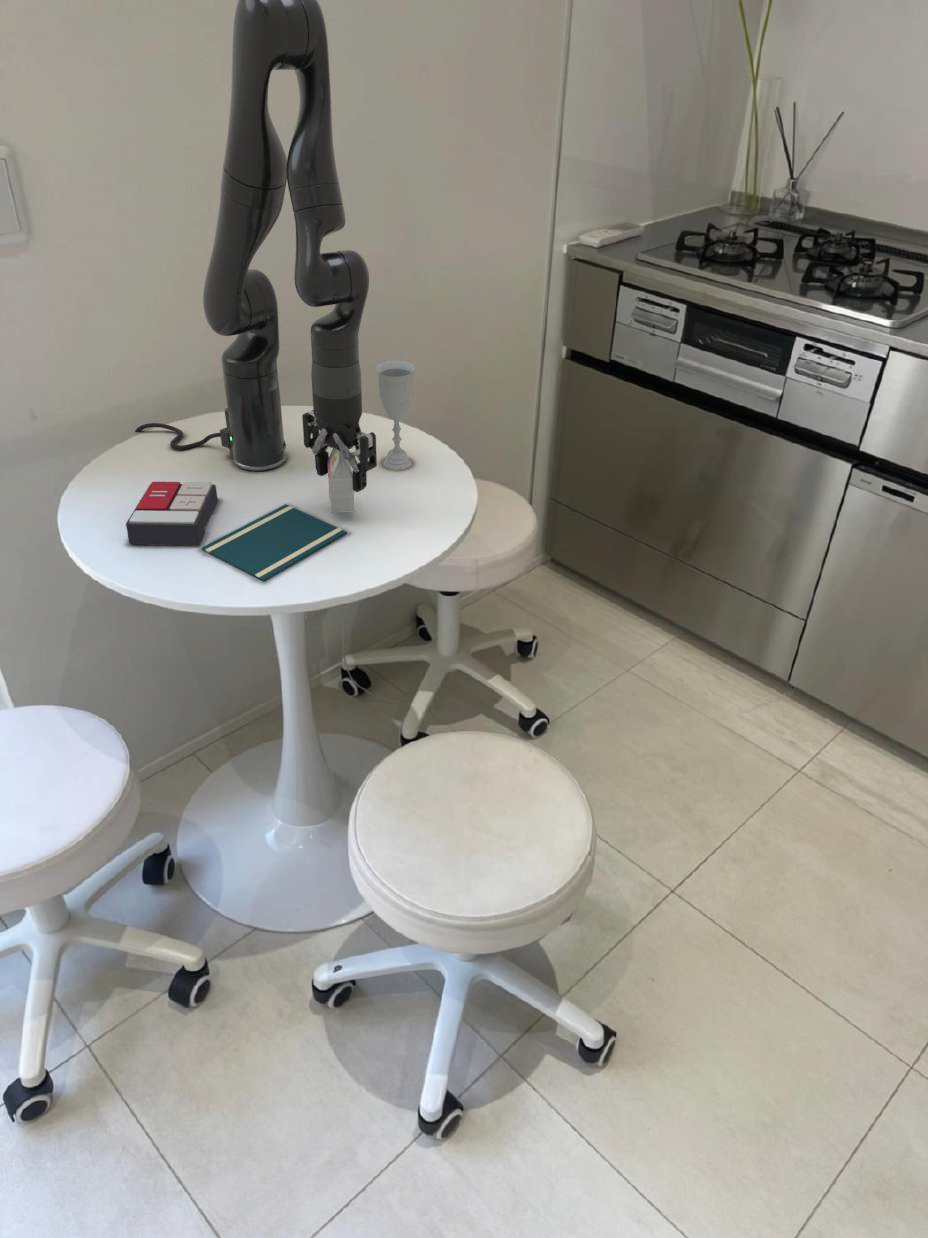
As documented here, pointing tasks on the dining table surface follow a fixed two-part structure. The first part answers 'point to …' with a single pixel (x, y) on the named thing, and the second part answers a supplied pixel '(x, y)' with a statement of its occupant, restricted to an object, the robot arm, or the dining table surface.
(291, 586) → the dining table surface
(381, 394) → the chalice
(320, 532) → the cloth
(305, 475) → the dining table surface
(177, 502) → the calculator
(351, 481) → the white gable top carton
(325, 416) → the robot arm
